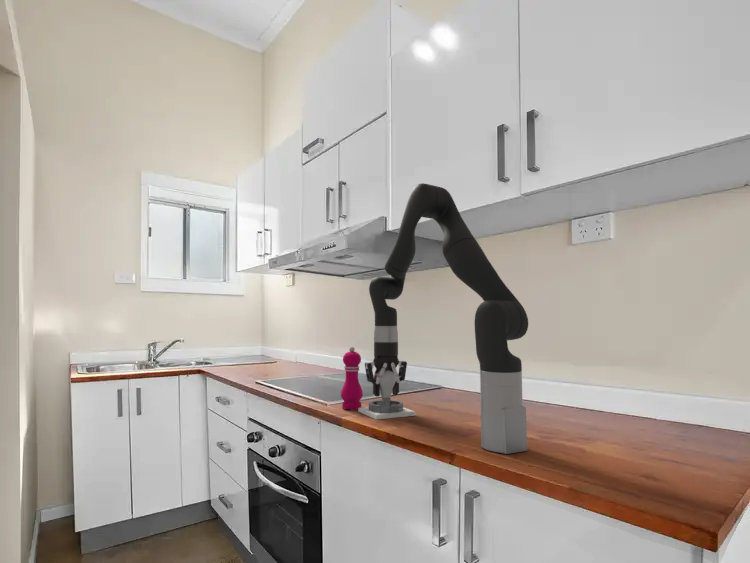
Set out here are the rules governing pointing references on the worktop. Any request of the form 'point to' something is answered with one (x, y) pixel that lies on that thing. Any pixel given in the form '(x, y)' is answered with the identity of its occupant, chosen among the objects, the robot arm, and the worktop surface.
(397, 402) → the socket collar
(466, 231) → the robot arm
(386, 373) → the lightbulb
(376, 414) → the socket board
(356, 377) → the pepper mill
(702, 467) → the worktop surface
